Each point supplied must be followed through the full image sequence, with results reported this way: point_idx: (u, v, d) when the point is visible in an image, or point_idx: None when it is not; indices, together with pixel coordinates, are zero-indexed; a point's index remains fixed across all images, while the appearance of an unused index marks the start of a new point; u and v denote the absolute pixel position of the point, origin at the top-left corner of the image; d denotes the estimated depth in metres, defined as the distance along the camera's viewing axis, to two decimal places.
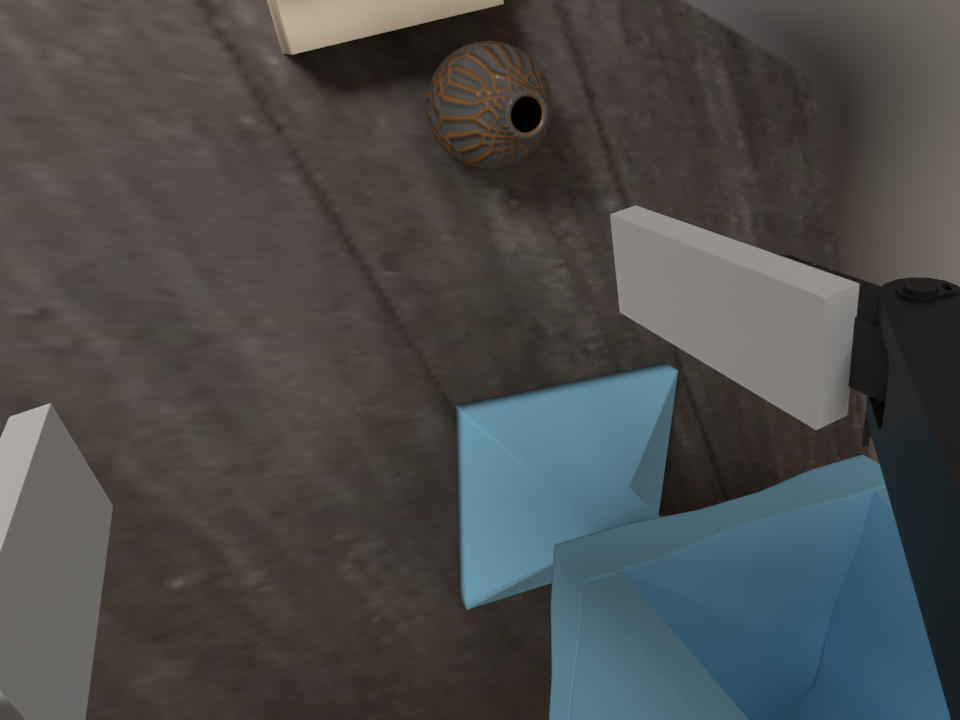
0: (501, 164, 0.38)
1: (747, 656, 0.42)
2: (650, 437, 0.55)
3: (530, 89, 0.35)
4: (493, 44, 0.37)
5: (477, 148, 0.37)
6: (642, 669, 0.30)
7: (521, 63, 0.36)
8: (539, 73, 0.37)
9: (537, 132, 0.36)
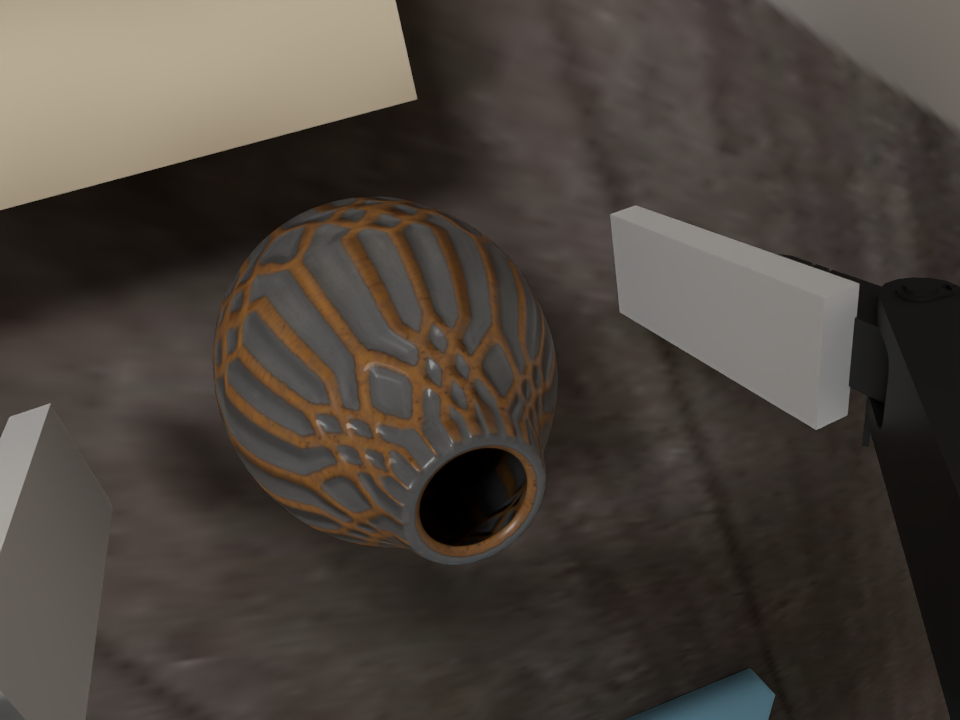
0: None
1: None
2: None
3: (490, 423, 0.10)
4: (381, 229, 0.12)
5: (335, 535, 0.12)
6: None
7: (464, 304, 0.11)
8: (521, 319, 0.12)
9: (513, 539, 0.11)
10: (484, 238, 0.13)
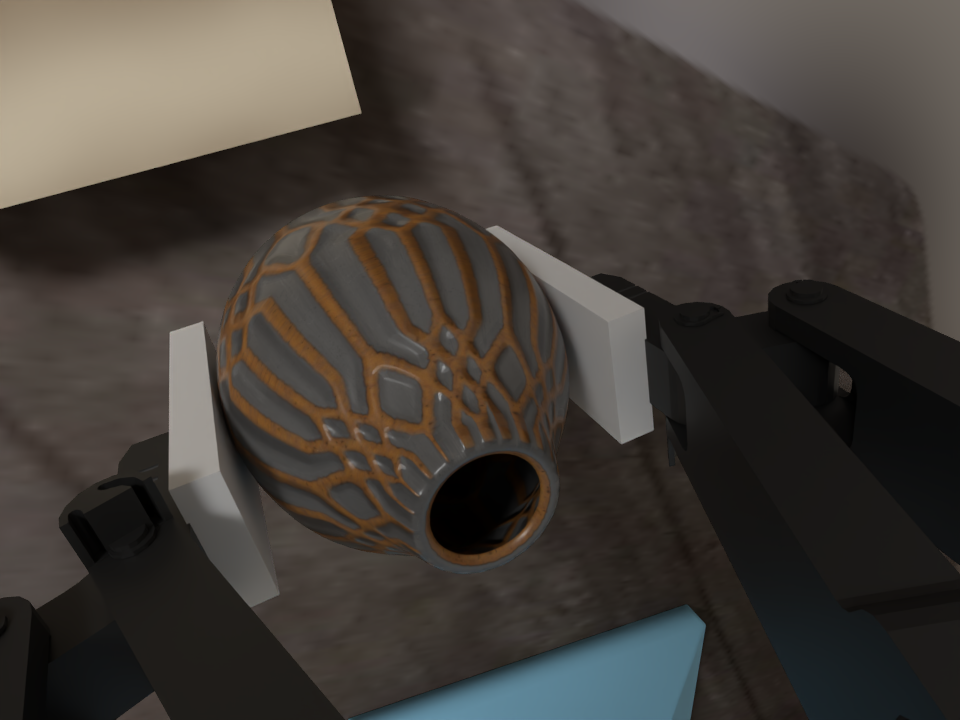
0: None
1: None
2: None
3: (502, 429, 0.10)
4: (389, 228, 0.12)
5: (342, 542, 0.12)
6: None
7: (475, 305, 0.11)
8: (533, 321, 0.12)
9: (525, 547, 0.11)
10: (494, 238, 0.13)
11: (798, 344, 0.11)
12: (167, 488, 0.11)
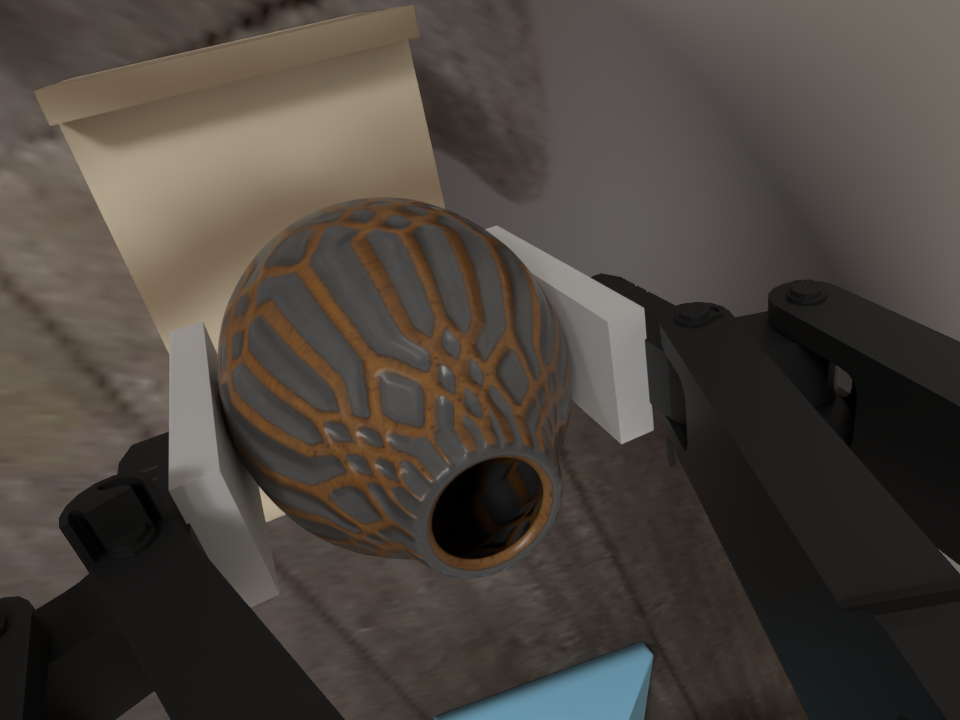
0: None
1: None
2: None
3: (504, 432, 0.10)
4: (391, 230, 0.12)
5: (343, 546, 0.12)
6: None
7: (477, 307, 0.11)
8: (535, 323, 0.12)
9: (528, 552, 0.10)
10: (496, 240, 0.13)
11: (798, 344, 0.11)
12: (167, 488, 0.11)
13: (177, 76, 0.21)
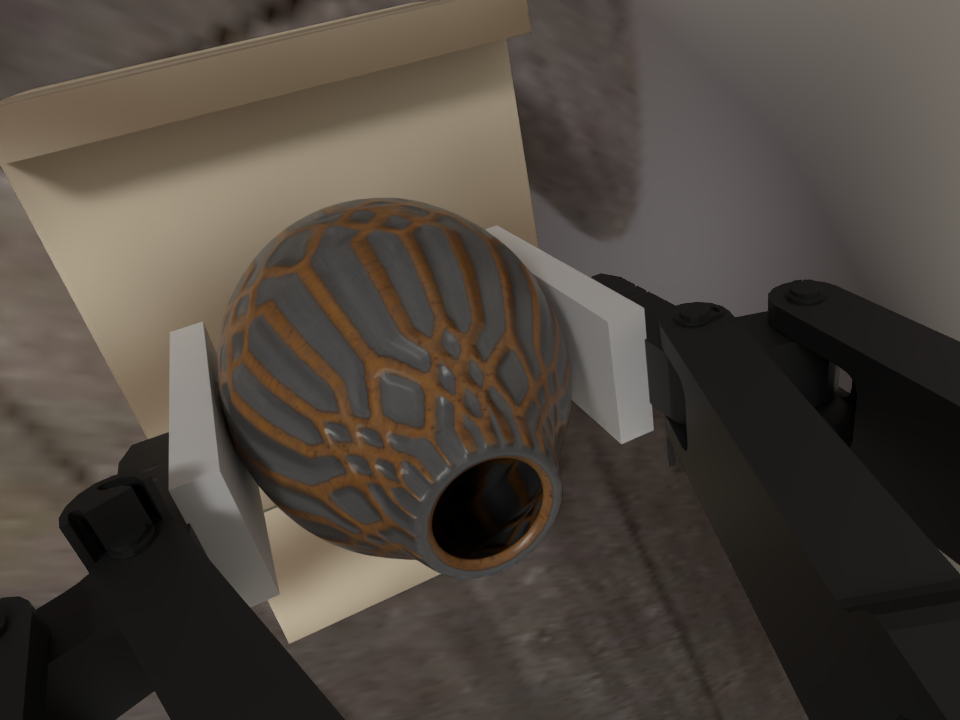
0: None
1: None
2: None
3: (505, 432, 0.10)
4: (391, 231, 0.12)
5: (343, 546, 0.12)
6: None
7: (477, 308, 0.11)
8: (535, 324, 0.12)
9: (528, 552, 0.10)
10: (496, 240, 0.13)
11: (798, 344, 0.11)
12: (167, 488, 0.11)
13: (179, 92, 0.14)
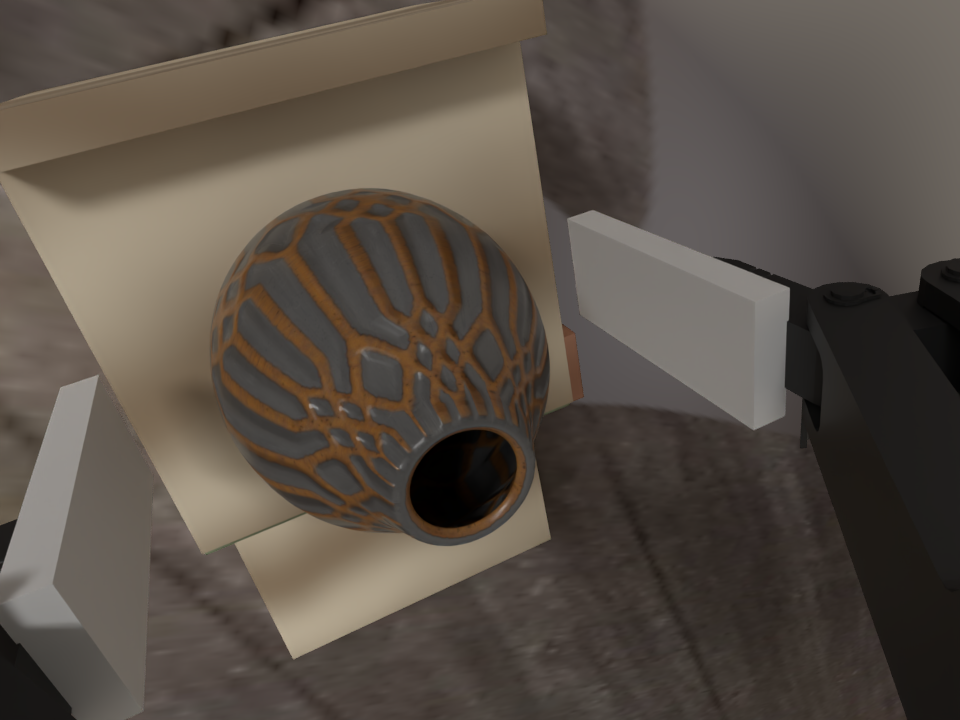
0: None
1: None
2: None
3: (478, 405, 0.10)
4: (374, 218, 0.12)
5: (329, 520, 0.13)
6: None
7: (455, 290, 0.11)
8: (512, 306, 0.12)
9: (503, 521, 0.11)
10: (476, 228, 0.13)
11: None
12: None
13: (181, 97, 0.13)
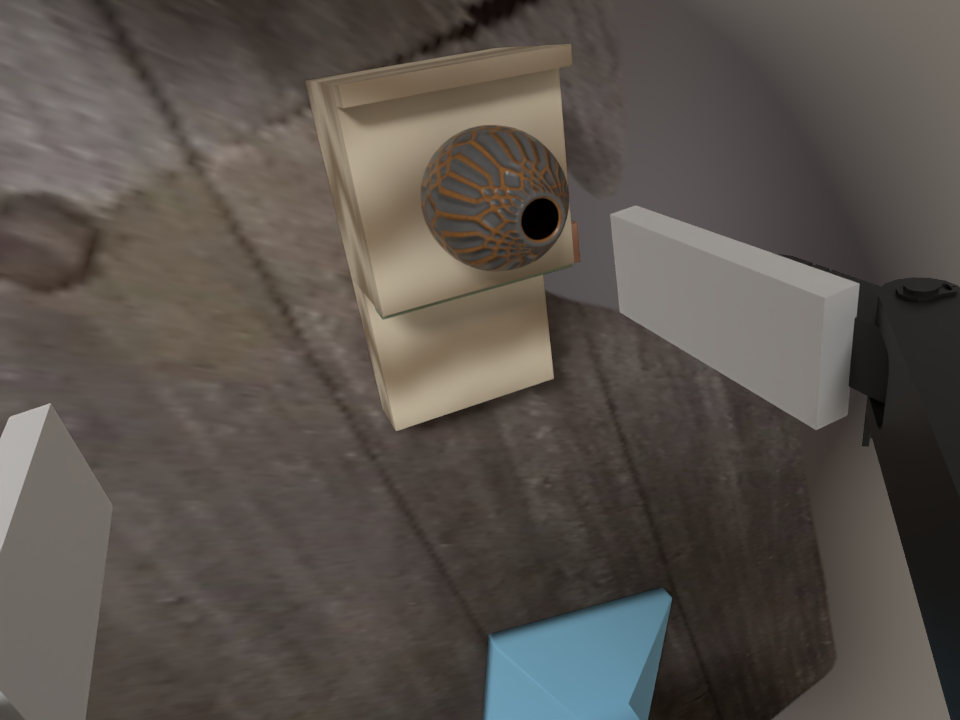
0: (506, 269, 0.32)
1: None
2: (647, 657, 0.65)
3: (547, 190, 0.29)
4: (503, 131, 0.31)
5: (478, 252, 0.31)
6: None
7: (536, 157, 0.30)
8: (556, 168, 0.31)
9: (552, 240, 0.29)
10: None
11: None
12: None
13: (422, 81, 0.32)
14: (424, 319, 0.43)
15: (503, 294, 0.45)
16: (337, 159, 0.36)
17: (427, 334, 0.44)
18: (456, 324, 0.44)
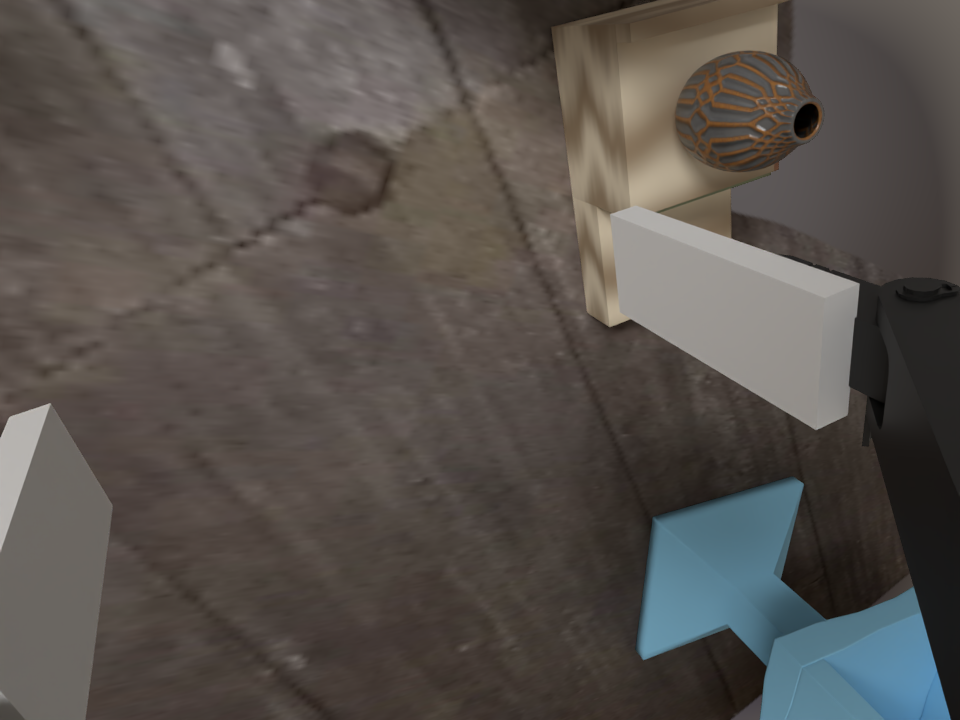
0: (758, 168, 0.40)
1: (880, 705, 0.61)
2: (786, 535, 0.74)
3: (812, 97, 0.36)
4: (762, 53, 0.39)
5: (744, 153, 0.39)
6: None
7: (794, 72, 0.38)
8: (806, 81, 0.38)
9: None
10: None
11: None
12: None
13: (688, 18, 0.40)
14: None
15: (699, 205, 0.53)
16: (594, 90, 0.44)
17: None
18: None
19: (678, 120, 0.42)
